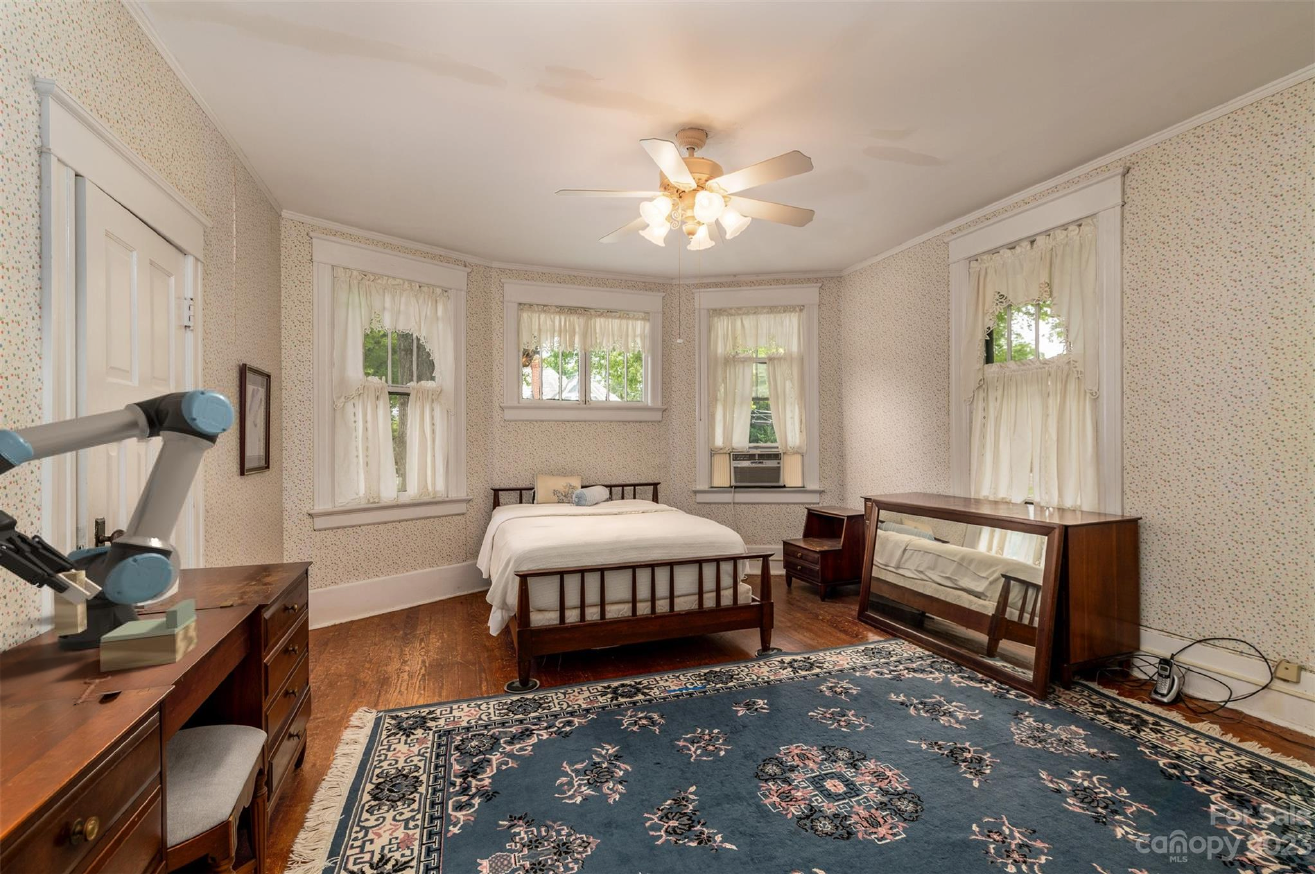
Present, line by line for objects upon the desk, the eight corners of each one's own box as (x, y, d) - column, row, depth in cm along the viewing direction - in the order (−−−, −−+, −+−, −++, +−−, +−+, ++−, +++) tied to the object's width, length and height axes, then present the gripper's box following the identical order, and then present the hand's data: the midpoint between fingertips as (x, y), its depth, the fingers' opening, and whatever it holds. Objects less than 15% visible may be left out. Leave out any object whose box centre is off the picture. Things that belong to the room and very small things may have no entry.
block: (64, 631, 119) (62, 572, 120) (86, 628, 121) (85, 570, 121) (55, 636, 116) (53, 575, 116) (78, 633, 118) (76, 573, 118)
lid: (128, 626, 135) (128, 604, 135) (196, 618, 139) (196, 597, 139) (100, 642, 124) (100, 618, 124) (175, 633, 128) (175, 610, 128)
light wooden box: (128, 653, 135) (128, 626, 135) (197, 644, 139) (196, 619, 139) (100, 671, 123) (100, 643, 123) (175, 662, 128) (175, 634, 128)
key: (104, 703, 110) (125, 676, 122) (105, 698, 110) (125, 671, 122) (61, 709, 107) (87, 680, 119) (62, 704, 107) (88, 675, 119)
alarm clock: (155, 599, 183) (154, 534, 183) (184, 598, 184) (183, 533, 184) (108, 616, 165) (106, 545, 165) (141, 614, 166) (139, 543, 166)
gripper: (-9, 531, 121) (96, 601, 127) (-76, 544, 105) (47, 623, 111) (24, 503, 123) (126, 573, 129) (-37, 513, 107) (82, 592, 113)
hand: (89, 596), depth 120 cm, fingers closed on block, 4 cm apart
